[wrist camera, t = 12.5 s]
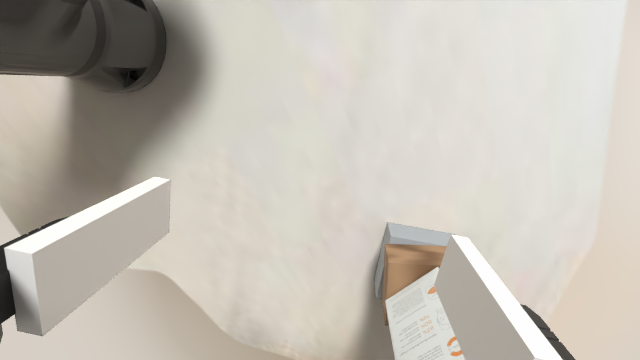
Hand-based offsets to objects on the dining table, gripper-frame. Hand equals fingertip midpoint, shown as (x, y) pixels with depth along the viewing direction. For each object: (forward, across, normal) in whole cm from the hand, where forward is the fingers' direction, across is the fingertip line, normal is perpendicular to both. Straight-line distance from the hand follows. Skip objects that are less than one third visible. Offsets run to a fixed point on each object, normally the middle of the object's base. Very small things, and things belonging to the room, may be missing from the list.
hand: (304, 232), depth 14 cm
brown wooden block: (+25, +15, -16) cm, 34 cm away
